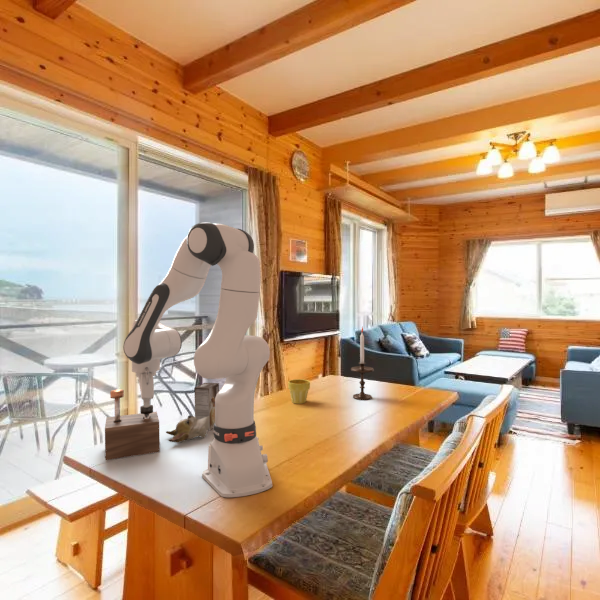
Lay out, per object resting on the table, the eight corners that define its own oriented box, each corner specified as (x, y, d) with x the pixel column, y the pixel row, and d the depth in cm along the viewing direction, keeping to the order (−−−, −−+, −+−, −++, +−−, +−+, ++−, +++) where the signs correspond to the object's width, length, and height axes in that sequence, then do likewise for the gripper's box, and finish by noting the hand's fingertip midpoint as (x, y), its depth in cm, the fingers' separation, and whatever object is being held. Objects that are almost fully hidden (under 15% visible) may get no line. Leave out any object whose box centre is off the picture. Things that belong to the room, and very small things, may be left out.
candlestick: (357, 393, 205) (357, 324, 204) (377, 396, 199) (377, 325, 198) (347, 398, 196) (346, 326, 196) (367, 401, 190) (367, 327, 189)
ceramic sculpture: (211, 415, 142) (167, 424, 136) (213, 440, 142) (169, 449, 136) (206, 408, 151) (164, 415, 145) (208, 431, 152) (166, 439, 146)
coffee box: (204, 422, 162) (204, 382, 162) (219, 423, 161) (219, 382, 161) (194, 429, 153) (194, 387, 153) (210, 430, 152) (209, 388, 152)
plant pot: (314, 400, 192) (314, 380, 192) (302, 406, 184) (302, 384, 183) (295, 398, 198) (295, 378, 198) (283, 402, 189) (283, 382, 189)
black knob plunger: (153, 445, 135) (153, 407, 135) (141, 447, 134) (140, 408, 133) (153, 441, 139) (152, 404, 138) (140, 443, 137) (140, 405, 137)
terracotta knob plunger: (124, 431, 131) (123, 391, 131) (110, 433, 130) (110, 392, 130) (124, 427, 135) (123, 388, 135) (111, 429, 133) (110, 390, 133)
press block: (159, 451, 132) (159, 421, 132) (105, 460, 126) (104, 428, 125) (157, 439, 143) (156, 411, 143) (106, 446, 137) (106, 417, 136)
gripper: (158, 370, 127) (158, 413, 128) (154, 360, 146) (154, 398, 146) (136, 371, 125) (137, 416, 125) (135, 361, 144) (135, 399, 144)
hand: (146, 406), depth 136 cm, fingers closed, pressing on black knob plunger
